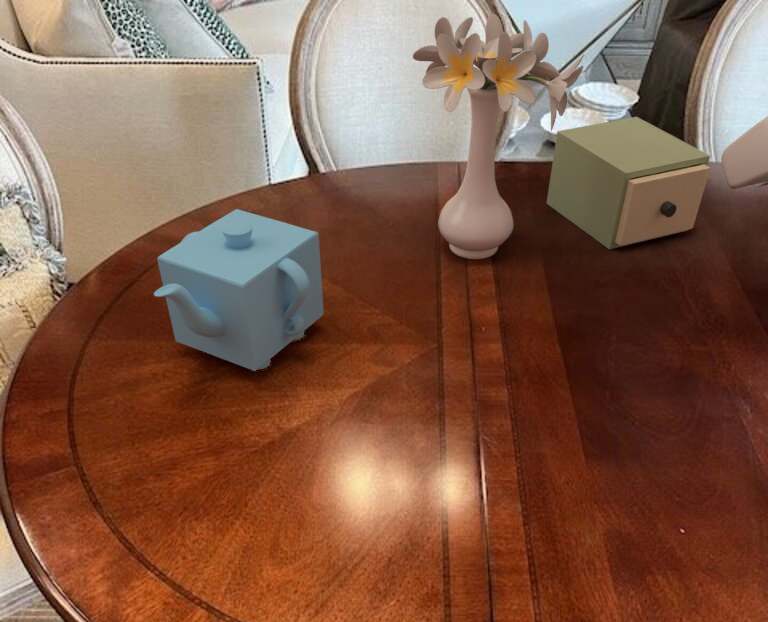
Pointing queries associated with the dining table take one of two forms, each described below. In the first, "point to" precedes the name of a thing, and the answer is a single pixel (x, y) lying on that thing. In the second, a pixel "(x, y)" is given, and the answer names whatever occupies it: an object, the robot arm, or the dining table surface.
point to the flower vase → (487, 118)
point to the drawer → (661, 204)
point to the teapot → (243, 287)
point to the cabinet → (610, 170)
